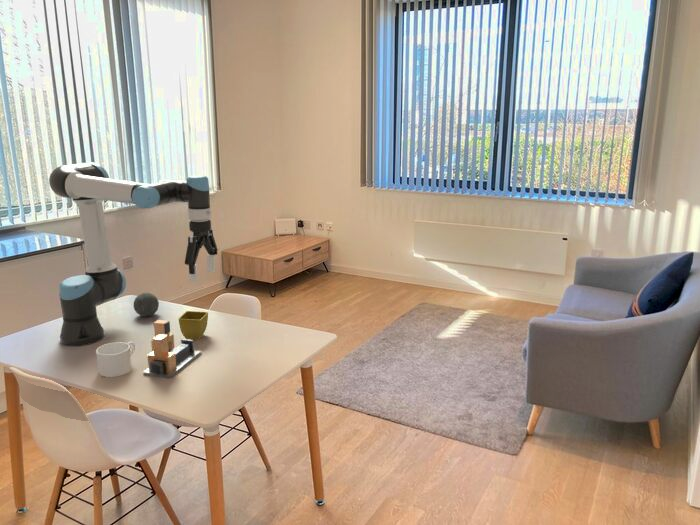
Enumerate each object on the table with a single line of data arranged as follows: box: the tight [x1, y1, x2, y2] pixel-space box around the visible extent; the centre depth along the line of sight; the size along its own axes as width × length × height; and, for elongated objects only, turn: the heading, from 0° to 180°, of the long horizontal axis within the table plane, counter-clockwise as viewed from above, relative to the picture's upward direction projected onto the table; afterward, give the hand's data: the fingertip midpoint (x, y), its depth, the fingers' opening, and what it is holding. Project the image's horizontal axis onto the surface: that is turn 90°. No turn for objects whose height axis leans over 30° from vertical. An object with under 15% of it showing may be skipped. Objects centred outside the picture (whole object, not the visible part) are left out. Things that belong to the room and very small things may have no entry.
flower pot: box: [178, 310, 209, 340], centre depth 216 cm, size 9×9×9 cm
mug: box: [95, 341, 136, 378], centre depth 189 cm, size 13×10×8 cm
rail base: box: [142, 334, 202, 379], centre depth 193 cm, size 10×20×12 cm, turn 165°
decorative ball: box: [133, 292, 160, 317], centre depth 237 cm, size 10×10×10 cm
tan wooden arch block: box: [150, 319, 175, 352], centre depth 203 cm, size 8×5×12 cm, turn 165°
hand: (202, 276), depth 207 cm, fingers open, 13 cm apart
